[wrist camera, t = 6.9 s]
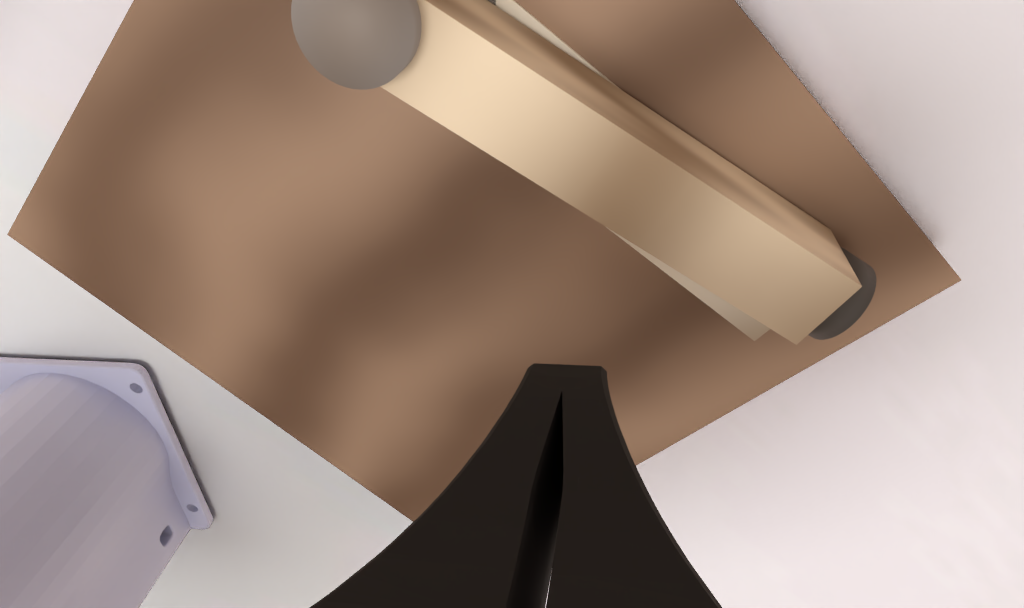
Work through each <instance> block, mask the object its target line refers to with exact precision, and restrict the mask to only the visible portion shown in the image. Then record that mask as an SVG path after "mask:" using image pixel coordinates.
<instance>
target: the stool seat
mask: <svg viewBox="0 0 1024 608" xmlns="http://www.w3.org/2000/svg"><path fill="white" fill-rule="evenodd" d="M488 1H489V2H490V3H492V4H493V5H495V6H496V7H498V8H499V9H501V10H502V11H504V12H505V13H507V14H508V15H510V16H511V17H513V18H514V19H516V20H517V21H519V22H520V23H522V24H523V25H525V26H526V27H528V28H529V29H531V30H532V31H534V32H535V33H537V34H538V35H540V36H541V37H543V38H544V39H546V40H547V41H549V42H550V43H552V44H553V45H555V46H556V47H558V48H559V49H561V50H562V51H564V52H565V53H567V54H568V55H570V56H571V57H573V58H574V59H576V60H577V61H579V62H580V63H582V64H583V65H585V66H586V67H588V68H589V69H591V70H592V71H594V72H595V73H597V74H598V75H600V76H601V77H603V78H604V79H606V80H607V81H609V82H610V83H612V84H613V85H615V86H616V87H618V88H619V89H621V90H622V91H624V92H625V93H627V94H628V95H630V96H631V97H633V98H634V99H636V100H637V101H639V102H640V103H642V104H643V105H645V106H646V107H648V108H649V109H651V110H652V111H654V112H655V113H657V114H658V115H660V116H661V117H663V118H664V119H666V120H667V121H669V122H670V123H672V124H673V125H675V126H676V127H678V128H679V129H681V130H682V131H684V132H685V133H687V134H688V135H690V136H691V137H693V138H694V139H696V140H697V141H699V142H700V143H702V144H703V145H705V146H706V147H708V148H709V149H711V150H712V151H714V152H715V153H717V154H718V155H720V156H721V157H723V158H724V159H726V160H727V161H729V162H730V163H732V164H733V165H735V166H736V167H738V168H739V169H741V170H742V171H744V172H745V173H747V174H748V175H750V176H751V177H753V178H754V179H756V180H757V181H759V182H760V183H762V184H763V185H765V186H766V187H768V188H769V189H771V190H772V191H774V192H775V193H777V194H778V195H780V196H781V197H783V198H784V199H786V200H787V201H789V202H790V203H792V204H793V205H795V206H796V207H798V208H799V209H801V210H802V211H804V212H805V213H807V214H808V215H810V216H811V217H813V218H814V219H815V220H817V221H818V222H820V223H821V224H823V225H824V226H826V227H827V228H829V229H830V230H831V231H832V233H833V235H834V237H835V238H836V240H837V242H838V244H839V246H840V247H842V248H844V249H846V250H847V251H849V252H850V253H852V254H853V255H855V256H856V257H858V258H859V259H861V260H862V261H864V262H865V263H867V264H868V265H870V266H871V267H872V268H873V269H874V271H875V274H876V288H875V292H874V295H873V298H872V300H871V302H870V304H869V306H868V307H867V309H866V310H865V312H864V313H863V314H862V316H861V317H860V318H859V319H858V320H857V321H856V322H855V323H854V324H853V325H852V326H851V327H850V328H848V329H847V330H846V331H844V332H843V333H841V334H839V335H837V336H835V337H833V338H830V339H825V340H818V339H814V338H812V337H811V336H809V335H807V336H806V337H805V338H804V339H803V340H802V341H800V342H799V343H798V344H797V345H796V344H794V343H792V342H791V341H789V340H788V339H786V338H784V337H783V336H781V335H780V334H778V333H776V332H775V331H773V330H771V329H770V328H768V327H767V326H765V325H763V324H762V323H760V322H759V321H757V320H755V319H754V318H752V317H751V316H749V315H747V314H746V313H744V312H742V311H741V310H739V309H738V308H736V307H734V306H733V305H731V304H730V303H728V302H726V301H725V300H723V299H722V298H720V297H718V296H717V295H715V294H713V293H712V292H710V291H709V290H707V289H705V288H704V287H702V286H701V285H699V284H697V283H696V282H694V281H693V280H691V279H689V278H688V277H686V276H684V275H683V274H681V273H680V272H678V271H676V270H675V269H673V268H672V267H670V266H668V265H667V264H665V263H664V262H662V261H660V260H659V259H657V258H655V257H654V256H652V255H651V254H649V253H647V252H646V251H644V250H643V249H641V248H639V247H638V246H636V245H634V244H633V243H631V242H630V241H628V240H626V239H625V238H623V237H622V236H620V235H618V234H617V233H615V232H614V231H612V230H610V229H609V228H607V227H605V226H604V225H602V224H601V223H599V222H597V221H596V220H594V219H593V218H591V217H589V216H588V215H586V214H585V213H583V212H581V211H580V210H578V209H576V208H575V207H573V206H572V205H570V204H568V203H567V202H565V201H564V200H562V199H560V198H559V197H557V196H556V195H554V194H552V193H551V192H549V191H547V190H546V189H544V188H543V187H541V186H539V185H538V184H536V183H535V182H533V181H531V180H530V179H528V178H527V177H525V176H523V175H522V174H520V173H518V172H517V171H515V170H514V169H512V168H510V167H509V166H507V165H506V164H504V163H502V162H501V161H499V160H498V159H496V158H494V157H493V156H491V155H489V154H488V153H486V152H485V151H483V150H481V149H480V148H478V147H477V146H475V145H473V144H472V143H470V142H469V141H467V140H465V139H464V138H462V137H460V136H459V135H457V134H456V133H454V132H452V131H451V130H449V129H448V128H446V127H444V126H443V125H441V124H439V123H438V122H436V121H435V120H433V119H431V118H430V117H428V116H427V115H425V114H423V113H422V112H420V111H419V110H417V109H415V108H414V107H412V106H410V105H409V104H407V103H406V102H404V101H402V100H401V99H399V98H398V97H396V96H394V95H393V94H391V93H390V92H388V91H386V90H385V89H383V88H381V87H377V88H373V89H367V90H358V89H350V88H347V87H343V86H341V85H338V84H336V83H334V82H332V81H330V80H329V79H327V78H326V77H324V76H323V75H322V74H320V73H319V72H318V71H317V70H316V69H315V68H314V67H313V66H312V65H311V64H310V63H309V61H308V60H307V59H306V57H305V56H304V54H303V52H302V51H301V49H300V47H299V45H298V43H297V40H296V37H295V34H294V31H293V26H292V19H291V4H292V0H134V1H133V3H132V5H131V7H130V8H129V10H128V12H127V14H126V16H125V18H124V20H123V21H122V23H121V25H120V27H119V29H118V31H117V32H116V34H115V36H114V38H113V40H112V42H111V44H110V45H109V47H108V49H107V51H106V53H105V55H104V57H103V58H102V60H101V62H100V64H99V66H98V68H97V70H96V71H95V73H94V75H93V77H92V79H91V81H90V83H89V84H88V86H87V88H86V90H85V92H84V94H83V96H82V97H81V99H80V101H79V103H78V105H77V107H76V108H75V110H74V112H73V114H72V116H71V118H70V120H69V121H68V123H67V125H66V127H65V129H64V131H63V133H62V134H61V136H60V138H59V140H58V142H57V144H56V146H55V147H54V149H53V151H52V153H51V155H50V157H49V159H48V160H47V162H46V164H45V166H44V168H43V170H42V171H41V173H40V175H39V177H38V179H37V181H36V183H35V184H34V186H33V188H32V190H31V192H30V194H29V196H28V197H27V199H26V201H25V203H24V205H23V207H22V209H21V210H20V212H19V214H18V216H17V218H16V220H15V222H14V223H13V225H12V227H11V229H10V231H9V233H8V234H7V235H9V236H10V237H11V238H13V239H14V240H16V241H17V242H18V243H20V244H21V245H23V246H24V247H26V248H27V249H28V250H30V251H31V252H33V253H34V254H35V255H37V256H38V257H40V258H41V259H43V260H44V261H45V262H47V263H48V264H50V265H51V266H52V267H54V268H55V269H57V270H58V271H59V272H61V273H62V274H64V275H65V276H67V277H68V278H69V279H71V280H72V281H74V282H75V283H76V284H78V285H79V286H81V287H82V288H84V289H85V290H86V291H88V292H89V293H91V294H92V295H93V296H95V297H96V298H98V299H99V300H101V301H102V302H103V303H105V304H106V305H108V306H109V307H110V308H112V309H113V310H115V311H116V312H117V313H119V314H120V315H122V316H123V317H125V318H126V319H127V320H129V321H130V322H132V323H133V324H134V325H136V326H137V327H139V328H140V329H142V330H143V331H144V332H146V333H147V334H149V335H150V336H151V337H153V338H154V339H156V340H157V341H158V342H160V343H161V344H163V345H164V346H166V347H167V348H168V349H170V350H171V351H173V352H174V353H175V354H177V355H178V356H180V357H181V358H183V359H184V360H185V361H187V362H188V363H190V364H191V365H192V366H194V367H195V368H197V369H198V370H200V371H201V372H202V373H204V374H205V375H207V376H208V377H209V378H211V379H212V380H214V381H215V382H216V383H218V384H219V385H221V386H222V387H224V388H225V389H226V390H228V391H229V392H231V393H232V394H233V395H235V396H236V397H238V398H239V399H241V400H242V401H243V402H245V403H246V404H248V405H249V406H250V407H252V408H253V409H255V410H256V411H257V412H259V413H260V414H262V415H263V416H265V417H266V418H267V419H269V420H270V421H272V422H273V423H274V424H276V425H277V426H279V427H280V428H282V429H283V430H284V431H286V432H287V433H289V434H290V435H291V436H293V437H294V438H296V439H297V440H298V441H300V442H301V443H303V444H304V445H306V446H307V447H308V448H310V449H311V450H313V451H314V452H315V453H317V454H318V455H320V456H321V457H323V458H324V459H325V460H327V461H328V462H330V463H331V464H332V465H334V466H335V467H337V468H338V469H340V470H341V471H342V472H344V473H345V474H347V475H348V476H349V477H351V478H352V479H354V480H355V481H356V482H358V483H359V484H361V485H362V486H364V487H365V488H366V489H368V490H369V491H371V492H372V493H373V494H375V495H376V496H378V497H379V498H381V499H382V500H383V501H385V502H386V503H388V504H389V505H390V506H392V507H393V508H395V509H396V510H397V511H399V512H400V513H402V514H403V515H405V516H406V517H407V518H409V519H410V520H412V521H413V522H414V521H415V520H416V519H417V518H418V517H419V516H420V515H421V514H422V513H423V512H424V511H425V510H426V509H427V508H428V507H429V506H430V505H431V504H432V502H433V501H434V500H435V499H436V498H437V497H438V496H439V495H440V494H441V493H442V492H443V491H444V489H445V488H446V487H447V486H448V485H449V484H450V482H451V481H452V480H453V479H454V478H455V477H456V475H457V474H458V473H459V472H460V470H461V469H462V468H463V467H464V465H465V464H466V463H467V462H468V460H469V459H470V458H471V456H472V455H473V454H474V453H475V451H476V450H477V449H478V448H479V446H480V445H481V444H482V442H483V441H484V439H485V438H486V437H487V435H488V434H489V432H490V431H491V429H492V428H493V426H494V425H495V423H496V422H497V420H498V419H499V417H500V416H501V415H502V413H503V412H504V410H505V408H506V407H507V405H508V403H509V402H510V400H511V399H512V397H513V395H514V394H515V392H516V390H517V388H518V386H519V385H520V383H521V381H522V379H523V377H524V375H525V373H526V371H527V369H528V367H530V366H531V365H532V364H533V363H539V364H564V365H589V366H602V367H603V368H604V369H605V370H606V371H607V381H608V388H609V392H610V397H611V401H612V404H613V408H614V411H615V414H616V418H617V421H618V424H619V426H620V429H621V432H622V434H623V437H624V439H625V442H626V444H627V447H628V450H629V452H630V455H631V457H632V459H633V461H634V464H635V466H636V465H638V464H639V463H641V462H643V461H645V460H646V459H648V458H650V457H652V456H653V455H655V454H657V453H659V452H660V451H662V450H664V449H666V448H667V447H669V446H671V445H673V444H674V443H676V442H678V441H680V440H682V439H683V438H685V437H687V436H689V435H690V434H692V433H694V432H696V431H697V430H699V429H701V428H703V427H704V426H706V425H708V424H710V423H711V422H713V421H715V420H717V419H718V418H720V417H722V416H724V415H725V414H727V413H729V412H731V411H732V410H734V409H736V408H738V407H739V406H741V405H743V404H745V403H746V402H748V401H750V400H752V399H753V398H755V397H757V396H759V395H761V394H762V393H764V392H766V391H768V390H769V389H771V388H773V387H775V386H776V385H778V384H780V383H782V382H783V381H785V380H787V379H789V378H790V377H792V376H794V375H796V374H797V373H799V372H801V371H803V370H804V369H806V368H808V367H810V366H811V365H813V364H815V363H817V362H818V361H820V360H822V359H824V358H825V357H827V356H829V355H831V354H833V353H834V352H836V351H838V350H840V349H841V348H843V347H845V346H847V345H848V344H850V343H852V342H854V341H855V340H857V339H859V338H861V337H862V336H864V335H866V334H868V333H869V332H871V331H873V330H875V329H876V328H878V327H880V326H882V325H883V324H885V323H887V322H889V321H890V320H892V319H894V318H896V317H897V316H899V315H901V314H903V313H904V312H906V311H908V310H910V309H912V308H913V307H915V306H917V305H919V304H920V303H922V302H924V301H926V300H927V299H929V298H931V297H933V296H934V295H936V294H938V293H940V292H941V291H943V290H945V289H947V288H948V287H950V286H952V285H954V284H955V283H957V282H959V281H961V279H960V278H959V276H958V275H957V274H956V273H955V271H954V270H953V269H952V268H951V266H950V265H949V264H948V263H947V261H946V260H945V259H944V258H943V256H942V255H941V254H940V253H939V251H938V250H937V249H936V248H935V246H934V245H933V244H932V243H931V242H930V240H929V239H928V238H927V237H926V235H925V234H924V233H923V232H922V230H921V229H920V228H919V227H918V226H917V224H916V223H915V222H914V221H913V219H912V218H911V217H910V216H909V214H908V213H907V212H906V211H905V210H904V208H903V207H902V206H901V205H900V203H899V202H898V201H897V200H896V198H895V197H894V196H893V195H892V194H891V192H890V191H889V190H888V189H887V187H886V186H885V185H884V184H883V182H882V181H881V180H880V179H879V178H878V176H877V175H876V174H875V173H874V171H873V170H872V169H871V168H870V166H869V165H868V164H867V163H866V162H865V160H864V159H863V158H862V157H861V155H860V154H859V153H858V152H857V150H856V149H855V148H854V147H853V146H852V144H851V143H850V142H849V141H848V139H847V138H846V137H845V136H844V134H843V133H842V132H841V131H840V130H839V128H838V127H837V126H836V125H835V123H834V122H833V121H832V120H831V118H830V117H829V116H828V115H827V114H826V112H825V111H824V110H823V109H822V107H821V106H820V105H819V104H818V102H817V101H816V100H815V99H814V98H813V96H812V95H811V94H810V93H809V91H808V90H807V89H806V88H805V86H804V85H803V84H802V83H801V82H800V80H799V79H798V78H797V77H796V75H795V74H794V73H793V72H792V70H791V69H790V68H789V67H788V66H787V64H786V63H785V62H784V61H783V59H782V58H781V57H780V56H779V54H778V53H777V52H776V51H775V50H774V48H773V47H772V46H771V45H770V43H769V42H768V41H767V40H766V38H765V37H764V36H763V35H762V34H761V32H760V31H759V30H758V29H757V27H756V26H755V25H754V24H753V22H752V21H751V20H750V19H749V18H748V16H747V15H746V14H745V13H744V11H743V10H742V9H741V8H740V6H739V5H738V4H737V3H736V2H735V0H488Z"/></svg>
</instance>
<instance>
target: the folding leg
mask: <svg viewBox="0 0 1024 608" xmlns="http://www.w3.org/2000/svg"><path fill="white" fill-rule="evenodd" d="M291 19H292V26H293V31H294V34H295V37H296V40H297V43H298V45H299V47H300V49H301V51H302V52H303V54H304V56H305V57H306V59H307V60H308V61H309V63H310V64H311V65H312V66H313V67H314V68H315V69H316V70H317V71H318V72H319V73H320V74H322V75H323V76H324V77H326V78H327V79H329V80H330V81H332V82H334V83H336V84H338V85H341V86H343V87H347V88H350V89H358V90H367V89H373V88H377V87H381V88H383V89H385V90H386V91H388V92H390V93H391V94H393V95H394V96H396V97H398V98H399V99H401V100H402V101H404V102H406V103H407V104H409V105H410V106H412V107H414V108H415V109H417V110H419V111H420V112H422V113H423V114H425V115H427V116H428V117H430V118H431V119H433V120H435V121H436V122H438V123H439V124H441V125H443V126H444V127H446V128H448V129H449V130H451V131H452V132H454V133H456V134H457V135H459V136H460V137H462V138H464V139H465V140H467V141H469V142H470V143H472V144H473V145H475V146H477V147H478V148H480V149H481V150H483V151H485V152H486V153H488V154H489V155H491V156H493V157H494V158H496V159H498V160H499V161H501V162H502V163H504V164H506V165H507V166H509V167H510V168H512V169H514V170H515V171H517V172H518V173H520V174H522V175H523V176H525V177H527V178H528V179H530V180H531V181H533V182H535V183H536V184H538V185H539V186H541V187H543V188H544V189H546V190H547V191H549V192H551V193H552V194H554V195H556V196H557V197H559V198H560V199H562V200H564V201H565V202H567V203H568V204H570V205H572V206H573V207H575V208H576V209H578V210H580V211H581V212H583V213H585V214H586V215H588V216H589V217H591V218H593V219H594V220H596V221H597V222H599V223H601V224H602V225H604V226H605V227H607V228H609V229H610V230H612V231H614V232H615V233H617V234H618V235H620V236H622V237H623V238H625V239H626V240H628V241H630V242H631V243H633V244H634V245H636V246H638V247H639V248H641V249H643V250H644V251H646V252H647V253H649V254H651V255H652V256H654V257H655V258H657V259H659V260H660V261H662V262H664V263H665V264H667V265H668V266H670V267H672V268H673V269H675V270H676V271H678V272H680V273H681V274H683V275H684V276H686V277H688V278H689V279H691V280H693V281H694V282H696V283H697V284H699V285H701V286H702V287H704V288H705V289H707V290H709V291H710V292H712V293H713V294H715V295H717V296H718V297H720V298H722V299H723V300H725V301H726V302H728V303H730V304H731V305H733V306H734V307H736V308H738V309H739V310H741V311H742V312H744V313H746V314H747V315H749V316H751V317H752V318H754V319H755V320H757V321H759V322H760V323H762V324H763V325H765V326H767V327H768V328H770V329H771V330H773V331H775V332H776V333H778V334H780V335H781V336H783V337H784V338H786V339H788V340H789V341H791V342H792V343H794V344H796V345H797V344H798V343H799V342H800V341H802V340H803V339H804V338H805V337H806V336H807V335H809V336H811V337H812V338H814V339H818V340H825V339H830V338H833V337H835V336H837V335H839V334H841V333H843V332H844V331H846V330H847V329H848V328H850V327H851V326H852V325H853V324H854V323H855V322H856V321H857V320H858V319H859V318H860V317H861V316H862V314H863V313H864V312H865V310H866V309H867V307H868V306H869V304H870V302H871V300H872V298H873V295H874V292H875V288H876V274H875V271H874V269H873V268H872V267H871V266H870V265H868V264H867V263H865V262H864V261H862V260H861V259H859V258H858V257H856V256H855V255H853V254H852V253H850V252H849V251H847V250H846V249H844V248H842V247H840V246H839V244H838V242H837V240H836V238H835V237H834V235H833V233H832V231H831V230H830V229H829V228H827V227H826V226H824V225H823V224H821V223H820V222H818V221H817V220H815V219H814V218H813V217H811V216H810V215H808V214H807V213H805V212H804V211H802V210H801V209H799V208H798V207H796V206H795V205H793V204H792V203H790V202H789V201H787V200H786V199H784V198H783V197H781V196H780V195H778V194H777V193H775V192H774V191H772V190H771V189H769V188H768V187H766V186H765V185H763V184H762V183H760V182H759V181H757V180H756V179H754V178H753V177H751V176H750V175H748V174H747V173H745V172H744V171H742V170H741V169H739V168H738V167H736V166H735V165H733V164H732V163H730V162H729V161H727V160H726V159H724V158H723V157H721V156H720V155H718V154H717V153H715V152H714V151H712V150H711V149H709V148H708V147H706V146H705V145H703V144H702V143H700V142H699V141H697V140H696V139H694V138H693V137H691V136H690V135H688V134H687V133H685V132H684V131H682V130H681V129H679V128H678V127H676V126H675V125H673V124H672V123H670V122H669V121H667V120H666V119H664V118H663V117H661V116H660V115H658V114H657V113H655V112H654V111H652V110H651V109H649V108H648V107H646V106H645V105H643V104H642V103H640V102H639V101H637V100H636V99H634V98H633V97H631V96H630V95H628V94H627V93H625V92H624V91H622V90H621V89H619V88H618V87H616V86H615V85H613V84H612V83H610V82H609V81H607V80H606V79H604V78H603V77H601V76H600V75H598V74H597V73H595V72H594V71H592V70H591V69H589V68H588V67H586V66H585V65H583V64H582V63H580V62H579V61H577V60H576V59H574V58H573V57H571V56H570V55H568V54H567V53H565V52H564V51H562V50H561V49H559V48H558V47H556V46H555V45H553V44H552V43H550V42H549V41H547V40H546V39H544V38H543V37H541V36H540V35H538V34H537V33H535V32H534V31H532V30H531V29H529V28H528V27H526V26H525V25H523V24H522V23H520V22H519V21H517V20H516V19H514V18H513V17H511V16H510V15H508V14H507V13H505V12H504V11H502V10H501V9H499V8H498V7H496V6H495V5H493V4H492V3H490V2H489V1H488V0H292V4H291Z"/></svg>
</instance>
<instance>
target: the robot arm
mask: <svg viewBox="0 0 1024 608" xmlns="http://www.w3.org/2000/svg"><path fill="white" fill-rule="evenodd" d="M212 522H213V517H212V514H211V512H210V510H209V508H208V505H207V503H206V501H205V499H204V496H203V494H202V492H201V490H200V488H199V485H198V483H197V481H196V479H195V476H194V474H193V472H192V470H191V467H190V465H189V463H188V461H187V458H186V456H185V454H184V452H183V450H182V447H181V445H180V443H179V441H178V438H177V436H176V434H175V432H174V429H173V427H172V425H171V423H170V420H169V418H168V416H167V414H166V411H165V409H164V407H163V405H162V403H161V400H160V398H159V396H158V394H157V391H156V389H155V387H154V385H153V382H152V380H151V378H150V376H149V373H148V372H147V370H146V369H145V368H144V367H143V366H141V365H139V364H136V363H124V362H101V361H78V360H55V359H32V358H10V357H0V608H139V607H140V605H141V603H142V602H143V600H144V599H145V597H146V596H147V594H148V593H149V591H150V590H151V588H152V587H153V585H154V584H155V582H156V581H157V579H158V577H159V576H160V574H161V573H162V571H163V570H164V568H165V567H166V565H167V564H168V562H169V561H170V559H171V558H172V556H173V555H174V553H175V551H176V550H177V548H178V547H179V545H180V544H181V542H182V541H183V539H184V538H185V536H186V535H187V533H188V532H189V530H190V528H192V529H207V528H209V527H210V525H211V524H212ZM551 571H552V573H551ZM550 576H551V579H550ZM549 582H550V586H549ZM548 587H549V592H548ZM547 593H548V599H547V605H546V608H722V607H721V605H720V604H719V603H718V601H717V600H716V598H715V597H714V596H713V594H712V593H711V591H710V590H709V589H708V587H707V586H706V585H705V583H704V582H703V580H702V579H701V578H700V576H699V575H698V573H697V572H696V571H695V569H694V568H693V566H692V565H691V564H690V562H689V561H688V559H687V558H686V556H685V555H684V553H683V551H682V550H681V548H680V547H679V545H678V543H677V542H676V540H675V539H674V537H673V536H672V534H671V532H670V531H669V529H668V527H667V525H666V524H665V522H664V520H663V519H662V517H661V515H660V513H659V512H658V510H657V508H656V506H655V504H654V502H653V501H652V499H651V497H650V495H649V493H648V491H647V489H646V487H645V485H644V483H643V481H642V479H641V477H640V474H639V472H638V470H637V468H636V466H635V464H634V461H633V459H632V457H631V455H630V452H629V450H628V447H627V444H626V442H625V439H624V437H623V434H622V432H621V429H620V426H619V424H618V421H617V418H616V414H615V411H614V408H613V404H612V401H611V397H610V392H609V388H608V381H607V371H606V370H605V369H604V368H603V367H602V366H589V365H564V364H539V363H533V364H532V365H531V366H530V367H528V369H527V371H526V373H525V375H524V377H523V379H522V381H521V383H520V385H519V386H518V388H517V390H516V392H515V394H514V395H513V397H512V399H511V400H510V402H509V403H508V405H507V407H506V408H505V410H504V412H503V413H502V415H501V416H500V417H499V419H498V420H497V422H496V423H495V425H494V426H493V428H492V429H491V431H490V432H489V434H488V435H487V437H486V438H485V439H484V441H483V442H482V444H481V445H480V446H479V448H478V449H477V450H476V451H475V453H474V454H473V455H472V456H471V458H470V459H469V460H468V462H467V463H466V464H465V465H464V467H463V468H462V469H461V470H460V472H459V473H458V474H457V475H456V477H455V478H454V479H453V480H452V481H451V482H450V484H449V485H448V486H447V487H446V488H445V489H444V491H443V492H442V493H441V494H440V495H439V496H438V497H437V498H436V499H435V500H434V501H433V502H432V504H431V505H430V506H429V507H428V508H427V509H426V510H425V511H424V512H423V513H422V514H421V515H420V516H419V517H418V518H417V519H416V520H415V521H414V522H413V523H412V524H411V525H410V526H409V527H408V528H407V529H405V530H404V531H403V532H402V533H401V534H400V535H399V536H398V537H397V538H396V539H395V540H394V541H393V542H392V543H391V544H390V545H388V546H387V547H386V548H385V549H384V550H383V551H382V552H381V553H379V554H378V555H377V556H376V557H375V558H373V559H372V560H371V561H370V562H368V563H367V564H366V565H365V566H363V567H362V568H361V569H360V570H359V571H357V572H356V573H355V574H354V575H352V576H351V577H350V578H349V579H347V580H346V581H345V582H344V583H342V584H341V585H340V586H339V587H337V588H336V589H335V590H334V591H332V592H331V593H330V594H328V595H327V596H326V597H324V598H323V599H321V600H320V601H319V602H317V603H316V604H314V605H313V606H311V607H310V608H545V604H546V598H547Z"/></svg>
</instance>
